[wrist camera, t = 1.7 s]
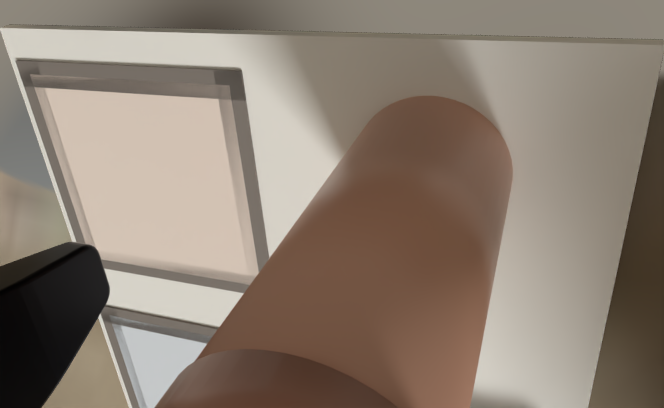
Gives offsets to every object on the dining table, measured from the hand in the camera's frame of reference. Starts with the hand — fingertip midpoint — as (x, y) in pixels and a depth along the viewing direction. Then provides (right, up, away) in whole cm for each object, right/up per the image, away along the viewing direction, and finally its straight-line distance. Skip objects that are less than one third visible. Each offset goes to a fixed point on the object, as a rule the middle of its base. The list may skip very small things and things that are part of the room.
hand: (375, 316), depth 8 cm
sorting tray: (-1, -1, +7) cm, 7 cm away
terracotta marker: (+1, +2, +3) cm, 4 cm away
